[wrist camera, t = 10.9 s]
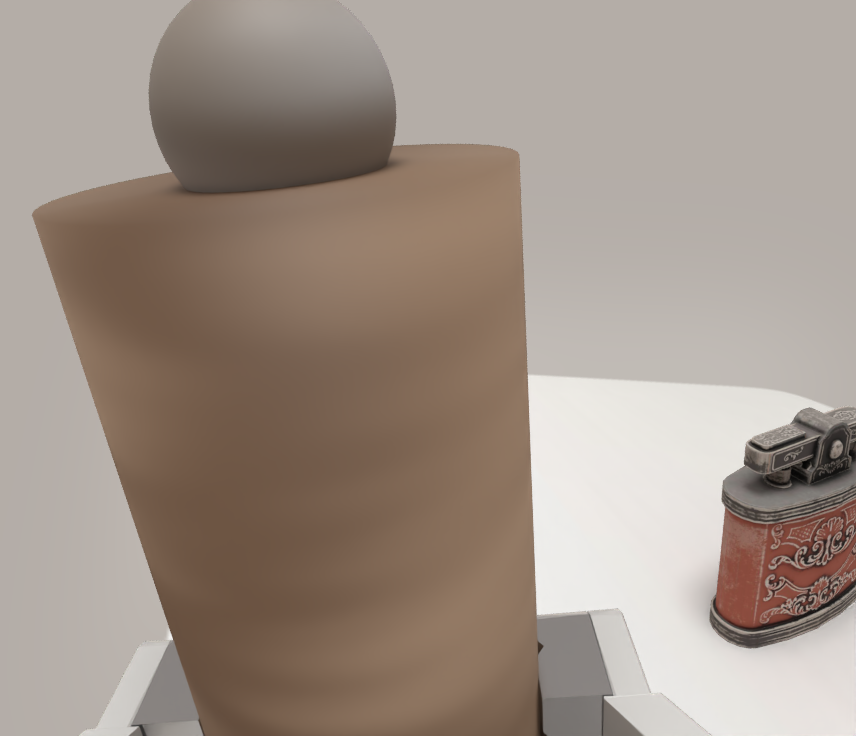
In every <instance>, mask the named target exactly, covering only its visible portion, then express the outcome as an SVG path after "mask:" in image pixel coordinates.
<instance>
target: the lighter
mask: <svg viewBox="0 0 856 736" xmlns="http://www.w3.org/2000/svg"><path fill="white" fill-rule="evenodd" d="M744 465H745V466H744V467H742V468H741V469H739V470H737V471H736V472H734V473H733V474H731V475H729V476H728V477H726V479H725V480H724V481H723V488H722V503H723V504H724V506H725V516H724V526H723V536H722V545H721V555H720V565H719V575H718V584H717V594H716V595H715V596H714V597H713V599H712V600H711V609H710V623H711V625H712V627H713V629H714V630H715V631H716V632H717V633H718V634H719V635H720V636H721V637H722V638H724V639H725V640H727V641H728V642H730V643H733V644H735V645H737V646H741V647H746V648H758V647H762V646H766V645H769V644H773V643H777V642H781V641H785V640H789V639H791V638H794V637H796V636H799V635H801V634H804V633H806V632H809V631H811V630H814V629H816V628H818V627H820V626H821V625H823V624H824V623H826V622H828V621H829V620H831V619H833V618H834V617H836V616H837V615H839V614H840V613H842V612H843V611H844V610H845V609H846V608H847V607H848V606H849V605H850V604H852V603H853V602H854V601H855V600H856V408H855V407H851V406H844V407H840V408H837V409H834V410H831V411H828V412H826V413H822V412H820V411H817V410H815V409H813V408H806V409H803V410H801V411H800V412H799V413H798V414H797V415H796V416H795V418H794V420H793V421H792V422H791V424H790V425H789V424H788V425H785V426H782V427H779V428H776V429H774V430H771V431H768V432H765V433H762V434H760V435H757V436H754V437H752V439H750V440H748V441H747V442H746V448H745V457H744Z"/></svg>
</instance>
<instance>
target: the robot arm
mask: <svg viewBox="0 0 856 736" xmlns="http://www.w3.org/2000/svg"><path fill="white" fill-rule="evenodd" d="M537 640H538V667H539V669H538V686H539V711H540V720H541V721H540V736H712V735H711V734H709V733H708V732H707V731H706V730H705V729H703V728H702V727H701V726H700V725H699V724H697V723H696V722H695V721H694V720H693V719H691V718H690V717H689V716H688V715H687V714H686V713H684V712H683V711H682V710H681V709H680V708H678V707H677V706H676V705H675V704H674V703H672V702H671V701H670V700H669V699H668V698H666V697H665V696H664V695H663V694H662V693H651V691H650V688H649V685H648V683H647V680H646V677H645V674H644V672H643V669H642V666H641V663H640V661H639V658H638V655H637V652H636V650H635V647H634V644H633V641H632V638H631V636H630V633H629V630H628V627H627V625H626V622H625V619H624V616H623V614H622V612H621V611H620V610H619V609H607V610H594V611H588V612H586V611H582V612H570V613H557V614H545V615H537ZM79 736H205V734H204V731H203V728H202V725H201V722H200V719H199V716H198V713H197V710H196V707H195V704H194V701H193V698H192V695H191V692H190V689H189V686H188V683H187V680H186V677H185V674H184V671H183V668H182V665H181V662H180V659H179V656H178V653H177V650H176V647H175V644H174V641H173V640H162V641H145V642H144V643H143V644H141V645H140V646H139V647H138V648H137V649H136V651H135V653H134V655H133V657H132V659H131V661H130V663H129V665H128V667H127V669H126V671H125V673H124V674H123V676H122V678H121V680H120V682H119V684H118V686H117V688H116V690H115V692H114V694H113V696H112V697H111V699H110V701H109V703H108V705H107V707H106V709H105V711H104V713H103V715H102V717H101V719H100V721H99V722H98V724H97V727H96V728H95V729H88V730H85V731H84V732H83V733H81V734H80V735H79Z"/></svg>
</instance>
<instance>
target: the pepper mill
mask: <svg viewBox="0 0 856 736" xmlns="http://www.w3.org/2000/svg"><path fill="white" fill-rule="evenodd" d="M149 107H150V115H151V120H152V126H153V130H154V133H155V136H156V139H157V142H158V145H159V147H160V150H161V152H162V154H163V156H164V158H165V161H166V162H167V164H168V165H169V167H170V169H171V170H172V172H170V173H165V174H159V175H154V176H148V177H143V178H138V179H133V180H128V181H124V182H119V183H115V184H110V185H106V186H101V187H98V188H93V189H90V190H86V191H82V192H78V193H75V194H72V195H68V196H65V197H62V198H59V199H56V200H53V201H51V202H49V203H46V204H44V205H42V206H40V207H39V208H38V209H36V210H35V211H34V212H33V214H32V216H33V219H34V222H35V225H36V228H37V231H38V234H39V237H40V240H41V243H42V246H43V249H44V252H45V255H46V258H47V261H48V264H49V267H50V270H51V273H52V276H53V279H54V282H55V285H56V288H57V291H58V294H59V297H60V300H61V303H62V306H63V309H64V312H65V315H66V318H67V321H68V324H69V327H70V330H71V333H72V336H73V339H74V342H75V345H76V348H77V351H78V354H79V357H80V360H81V364H82V366H83V369H84V372H85V375H86V379H87V381H88V385H89V388H90V391H91V393H92V397H93V399H94V403H95V406H96V408H97V411H98V414H99V418H100V420H101V424H102V427H103V430H104V433H105V436H106V439H107V442H108V445H109V448H110V451H111V454H112V457H113V460H114V463H115V466H116V469H117V472H118V475H119V478H120V481H121V484H122V487H123V490H124V493H125V496H126V499H127V502H128V505H129V508H130V511H131V514H132V517H133V520H134V523H135V526H136V529H137V532H138V535H139V538H140V541H141V544H142V547H143V550H144V553H145V556H146V559H147V562H148V565H149V568H150V571H151V574H152V577H153V580H154V583H155V586H156V589H157V592H158V595H159V598H160V601H161V604H162V607H163V610H164V613H165V616H166V619H167V622H168V625H169V628H170V631H171V634H172V637H173V641H174V644H175V647H176V650H177V653H178V656H179V659H180V662H181V665H182V668H183V671H184V674H185V677H186V680H187V683H188V686H189V689H190V692H191V695H192V698H193V701H194V704H195V707H196V710H197V713H198V716H199V719H200V722H201V725H202V728H203V731H204V734H205V736H540V721H541V720H540V711H539V686H538V669H539V667H538V640H537V613H536V587H535V560H534V533H533V507H532V480H531V453H530V427H529V400H528V373H527V348H526V320H525V293H524V269H523V242H522V241H523V240H522V214H521V187H520V161H519V154H518V152H517V151H515V150H513V149H509V148H505V147H500V146H492V145H477V144H476V145H475V144H425V145H402V146H393V141H394V136H395V127H396V103H395V96H394V89H393V84H392V81H391V77H390V74H389V70H388V67H387V65H386V63H385V60H384V58H383V56H382V53H381V51H380V49H379V48H378V46H377V44H376V43H375V41H374V39H373V37H372V36H371V35H370V33H369V32H368V31H367V30H366V28H365V27H364V25H363V24H362V23H361V22H360V21H359V20H358V19H357V18H356V16H355V15H354V14H352V12H350V10H349V9H347V8H346V7H345V6H344V5H342V4H341V3H340V2H339V1H337V0H191V1H190V2H189V3H188V4H187V5H186V6H185V7H184V8H183V9H182V10H181V11H180V12H179V13H178V14H177V15H176V17H175V18H174V19H173V21H172V22H171V23H170V24H169V26H168V28H167V29H166V31H165V33H164V35H163V37H162V38H161V40H160V43H159V45H158V48H157V51H156V53H155V56H154V59H153V64H152V68H151V73H150V82H149Z"/></svg>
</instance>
